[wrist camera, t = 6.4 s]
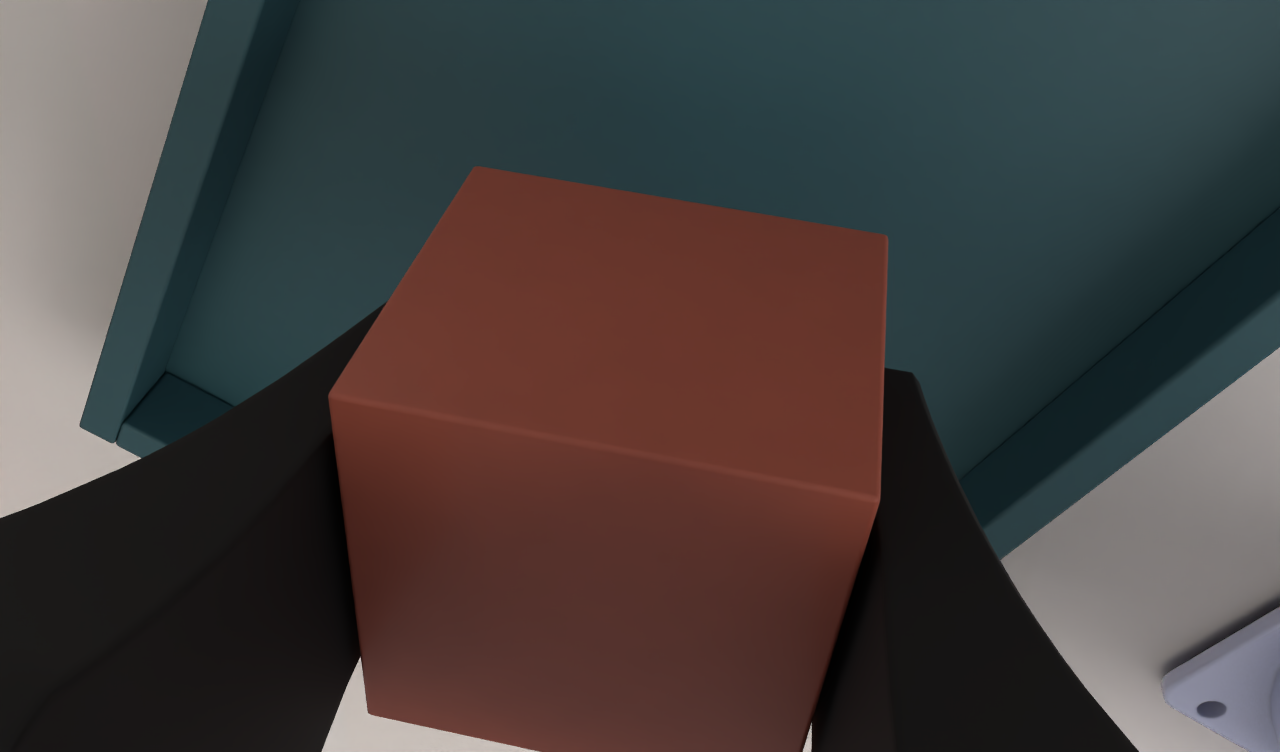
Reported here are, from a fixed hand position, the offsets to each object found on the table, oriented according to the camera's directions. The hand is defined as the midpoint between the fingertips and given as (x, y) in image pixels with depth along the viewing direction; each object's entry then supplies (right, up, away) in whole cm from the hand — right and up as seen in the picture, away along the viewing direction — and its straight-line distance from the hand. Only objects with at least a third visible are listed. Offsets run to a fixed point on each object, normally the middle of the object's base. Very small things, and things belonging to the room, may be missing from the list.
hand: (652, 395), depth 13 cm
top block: (0, 0, 0) cm, 1 cm away
